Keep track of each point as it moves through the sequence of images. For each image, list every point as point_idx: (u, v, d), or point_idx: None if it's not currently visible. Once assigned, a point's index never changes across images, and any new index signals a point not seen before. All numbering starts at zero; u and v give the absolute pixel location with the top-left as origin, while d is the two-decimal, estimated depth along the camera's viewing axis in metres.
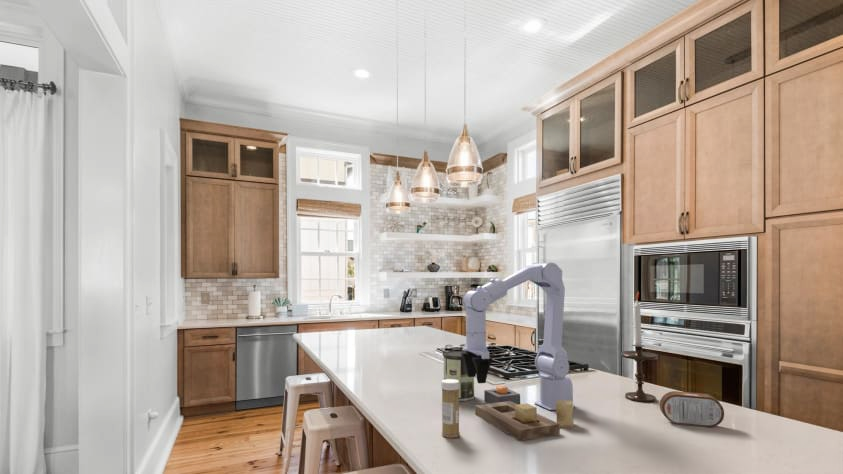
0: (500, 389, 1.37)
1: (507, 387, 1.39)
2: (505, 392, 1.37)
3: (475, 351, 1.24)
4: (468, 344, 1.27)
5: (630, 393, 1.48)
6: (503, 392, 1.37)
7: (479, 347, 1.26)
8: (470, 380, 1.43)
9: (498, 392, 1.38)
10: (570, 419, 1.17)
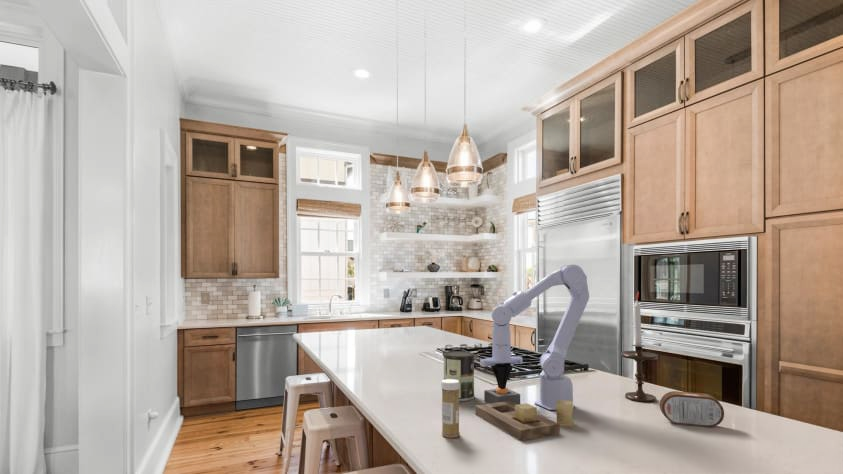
0: (500, 390, 1.37)
1: (507, 388, 1.39)
2: (505, 393, 1.37)
3: None
4: None
5: (630, 393, 1.48)
6: (503, 393, 1.37)
7: (493, 357, 1.39)
8: (470, 380, 1.43)
9: (498, 393, 1.38)
10: (570, 419, 1.17)
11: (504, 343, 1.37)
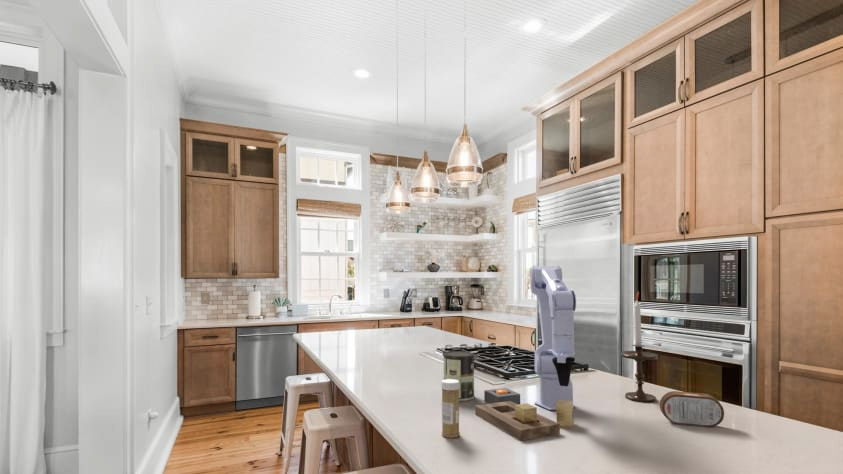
0: (500, 393, 1.37)
1: (507, 391, 1.39)
2: None
3: (555, 354, 1.18)
4: (552, 346, 1.21)
5: (630, 393, 1.48)
6: None
7: (562, 350, 1.18)
8: (470, 380, 1.43)
9: None
10: (570, 419, 1.17)
11: None
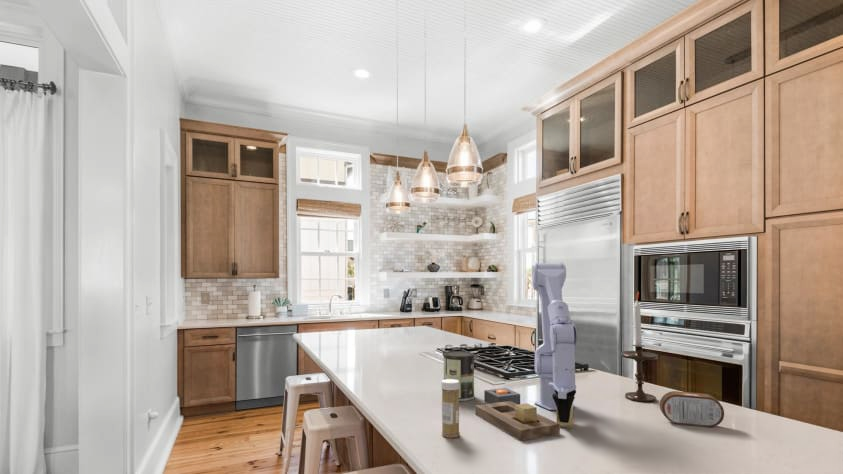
0: (500, 393, 1.37)
1: (507, 391, 1.39)
2: None
3: (555, 388, 1.17)
4: (553, 380, 1.21)
5: (630, 393, 1.48)
6: None
7: (562, 385, 1.18)
8: (470, 380, 1.43)
9: None
10: (570, 419, 1.17)
11: None
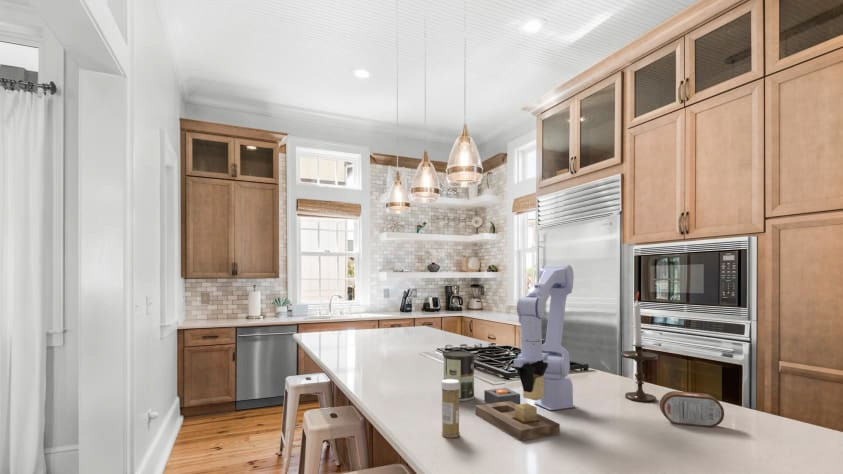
0: (500, 393, 1.37)
1: (507, 391, 1.39)
2: None
3: None
4: None
5: (630, 393, 1.48)
6: None
7: (525, 355, 1.22)
8: (470, 380, 1.43)
9: None
10: (534, 391, 1.20)
11: (541, 338, 1.23)
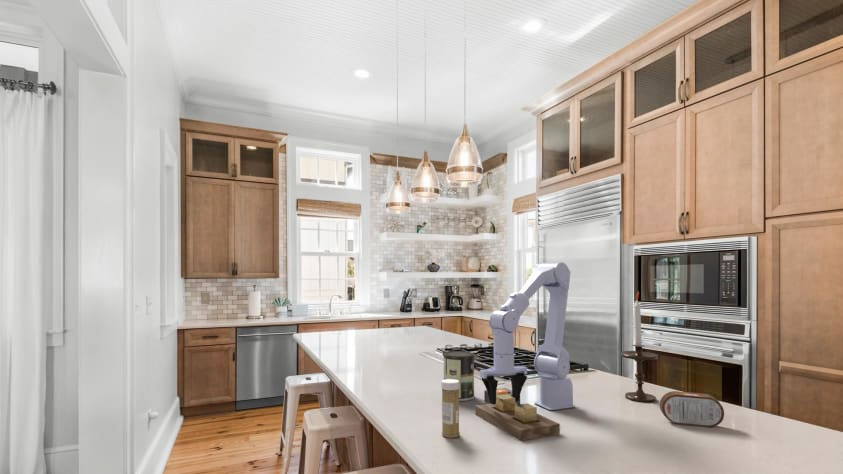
0: (500, 393, 1.37)
1: (507, 391, 1.39)
2: None
3: None
4: None
5: (630, 393, 1.48)
6: None
7: (495, 367, 1.25)
8: (470, 380, 1.43)
9: None
10: None
11: (512, 351, 1.25)
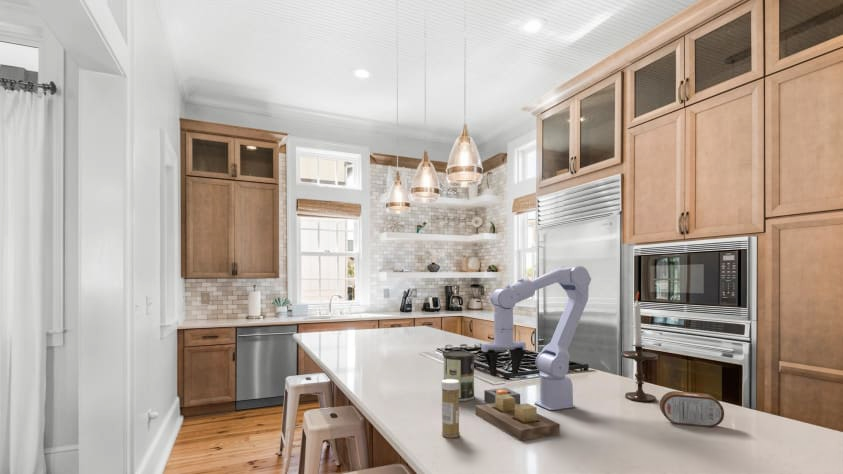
0: (500, 393, 1.37)
1: (507, 391, 1.39)
2: None
3: None
4: None
5: (630, 393, 1.48)
6: None
7: (495, 342, 1.33)
8: (470, 380, 1.43)
9: None
10: None
11: (510, 327, 1.32)
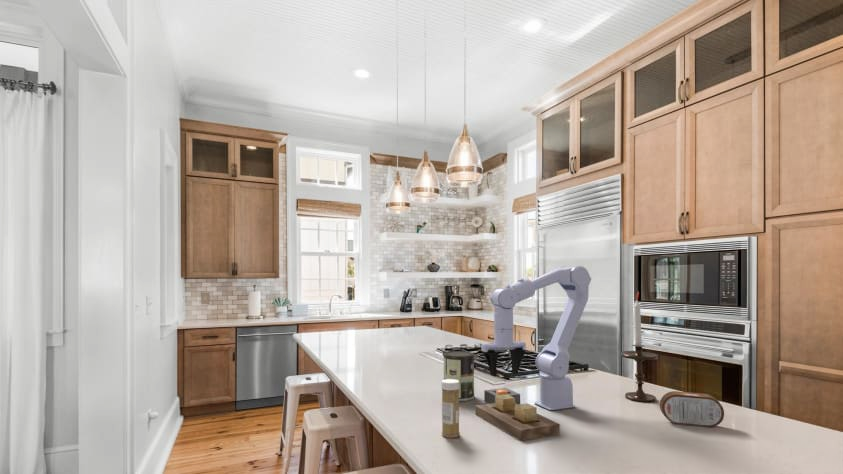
0: (500, 393, 1.37)
1: (507, 391, 1.39)
2: None
3: None
4: None
5: (630, 393, 1.48)
6: None
7: (495, 342, 1.33)
8: (470, 380, 1.43)
9: None
10: None
11: (510, 327, 1.32)
